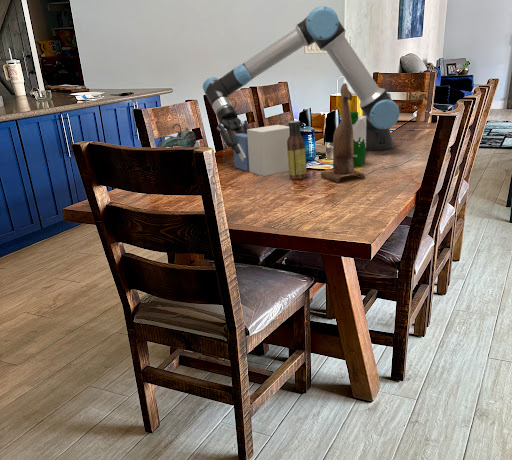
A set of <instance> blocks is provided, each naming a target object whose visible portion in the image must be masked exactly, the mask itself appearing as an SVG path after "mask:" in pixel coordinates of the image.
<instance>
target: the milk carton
mask: <svg viewBox="0 0 512 460" xmlns="http://www.w3.org/2000/svg"><path fill="white" fill-rule="evenodd" d="M350 113H351V120H352V126H353V145H354V146H353V152H354V154H353V164H354V168H361V167H362V166H363V165H365V164H366V163H365V162H366V152H367V150H366V116H363V115H361V116H360V115H359V112H358V111H350Z"/></svg>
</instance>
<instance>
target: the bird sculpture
mask: <svg viewBox="0 0 512 460" xmlns="http://www.w3.org/2000/svg"><path fill="white" fill-rule="evenodd" d="M340 100H341V118H340V119H341V120H340V122H339V124H338V125H337V126H336V128H335V129H334V132H333V136H332V137H333V139H332V165H333V166H332V167H333V168H332V169H327V170H322V171H321V172H320V178H323V179H324V180H325V179H326V180H328V181H330V182H334V183H336V184H338V183H339V182H340V180H341V179H342V178H344V177H347V176H348V177H349V176H356V177H360V178H362V179H366V175H365V173H364V172H360V171H357V170H355V167H354V164H353V154H354V152H353V146H354V145H353V126H352V120H351V113H350V112H351V108H350V104H349V101H350V102H351V101H352V100H353V94H352V92H351V91H350V89H349V87H348V84H347V83H346V82H344V83H343V84H342V85H341V87H340ZM348 100H349V101H348Z"/></svg>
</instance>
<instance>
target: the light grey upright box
mask: <svg viewBox="0 0 512 460" xmlns="http://www.w3.org/2000/svg"><path fill="white" fill-rule="evenodd" d="M289 133H290V131H289V125H288V126H287V125H282V124H275V125H274V124H273V125H268V126H261V127H254V128H249V129H247V139H248V154H249V173H253V174H255V175H258V176H262V177H268V176H271V175H272V176H273V175H277V174H282V173H286V172H289V167H288V153H287V140H288V138H289V136H290V134H289Z"/></svg>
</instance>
